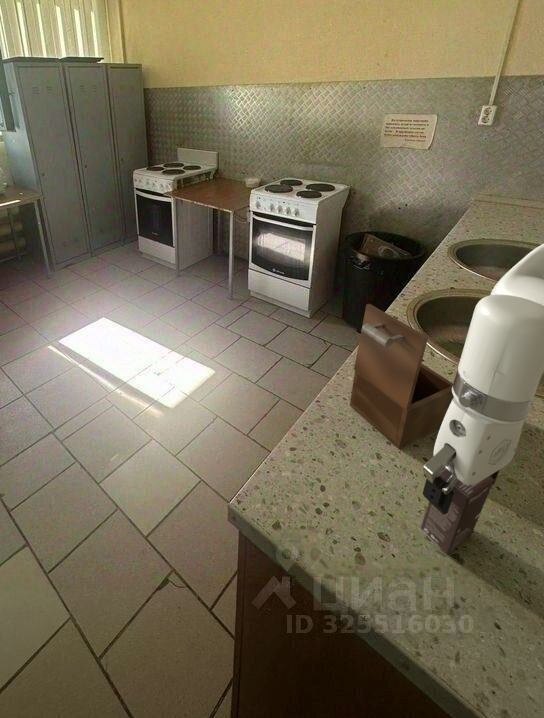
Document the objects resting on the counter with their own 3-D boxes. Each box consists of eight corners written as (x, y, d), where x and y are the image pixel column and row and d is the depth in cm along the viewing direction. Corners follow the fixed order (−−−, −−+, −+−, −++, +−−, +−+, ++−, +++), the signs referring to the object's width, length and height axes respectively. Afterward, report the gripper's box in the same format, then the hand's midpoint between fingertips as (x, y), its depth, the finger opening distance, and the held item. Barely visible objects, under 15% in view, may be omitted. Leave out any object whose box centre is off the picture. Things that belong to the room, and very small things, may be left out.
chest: (397, 385, 87) (404, 351, 83) (449, 423, 77) (459, 387, 73) (349, 405, 82) (354, 370, 78) (398, 449, 71) (407, 411, 68)
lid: (369, 303, 74) (349, 308, 72) (428, 337, 63) (406, 344, 61) (356, 368, 78) (337, 374, 76) (409, 408, 68) (388, 417, 66)
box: (449, 558, 55) (469, 498, 51) (418, 528, 59) (435, 470, 54) (475, 537, 57) (496, 478, 53) (444, 510, 61) (461, 453, 57)
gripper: (477, 439, 42) (442, 543, 48) (566, 391, 49) (526, 489, 55) (414, 393, 49) (390, 490, 55) (500, 356, 55) (470, 447, 61)
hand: (458, 489), depth 55 cm, fingers open, 9 cm apart
